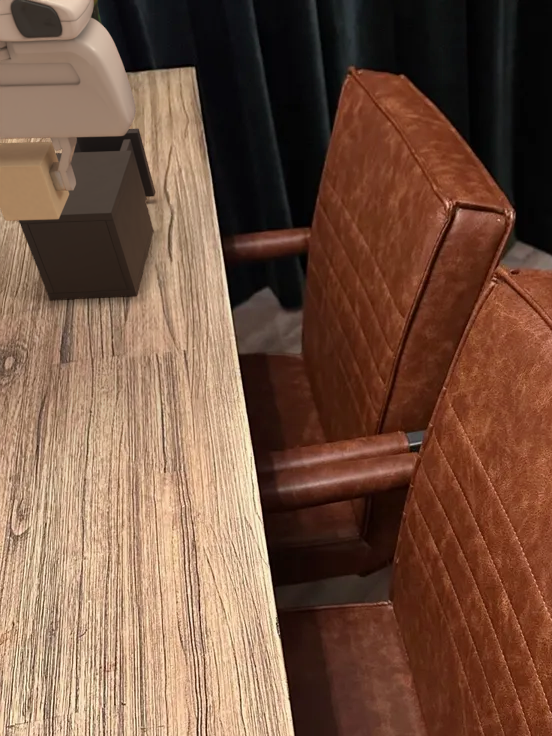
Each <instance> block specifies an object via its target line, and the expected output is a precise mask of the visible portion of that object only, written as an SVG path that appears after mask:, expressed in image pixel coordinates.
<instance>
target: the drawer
mask: <svg viewBox="0 0 552 736" xmlns="http://www.w3.org/2000/svg"><path fill="white" fill-rule="evenodd" d="M76 138H77V141H76V145H75V149H74V153H78V152H106V151H132V153H133V157H134V160H135V164H136V168H137V171H138V175H139V179H140V182H141V186H142V190H143V193H144V197H145V201H146V202H147V197H148V198H149V197H155V195H156V190H155V185H154V181H153V177H152V174H151V170H150V166H149V161H148V158H147V155H146V151H145V147H144V143H143V139H142V135H141V131H140V128H129V130H128V131H127V133H126V134H125V135H123V136H106V137H76Z"/></svg>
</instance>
